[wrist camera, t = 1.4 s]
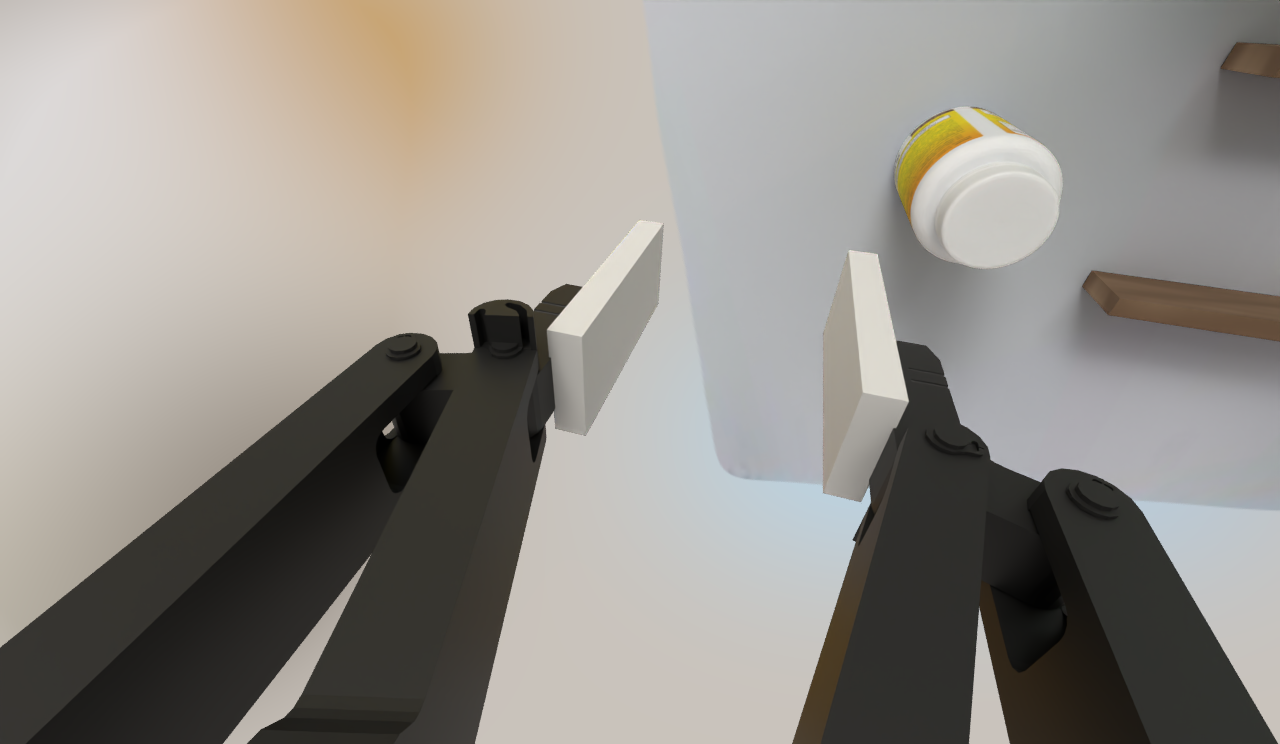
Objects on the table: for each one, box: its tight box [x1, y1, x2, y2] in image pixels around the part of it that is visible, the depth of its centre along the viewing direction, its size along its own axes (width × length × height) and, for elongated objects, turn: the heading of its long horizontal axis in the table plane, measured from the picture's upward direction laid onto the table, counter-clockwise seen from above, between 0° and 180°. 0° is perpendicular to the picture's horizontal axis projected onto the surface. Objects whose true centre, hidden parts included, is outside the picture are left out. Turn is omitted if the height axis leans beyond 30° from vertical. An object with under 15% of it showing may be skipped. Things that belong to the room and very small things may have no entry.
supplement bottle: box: [894, 107, 1063, 269], centre depth 24 cm, size 6×6×10 cm
